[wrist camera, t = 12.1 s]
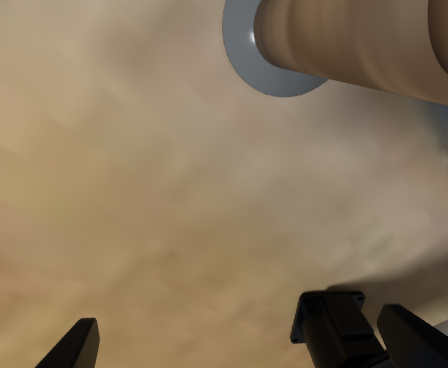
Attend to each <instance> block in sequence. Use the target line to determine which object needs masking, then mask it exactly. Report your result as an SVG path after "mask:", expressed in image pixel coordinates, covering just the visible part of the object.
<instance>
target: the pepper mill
mask: <svg viewBox="0 0 448 368" xmlns="http://www.w3.org/2000/svg"><path fill="white" fill-rule="evenodd" d="M253 34H254V40H255V44H256V46H257V49H258V51H259V53H260V54H261V55H262V57H263V58H264V59H265V60H266V61H267V62H268V63H270V64H271V65H273V66H275V67H278V68H281V69H286V70H290V71H295V72H299V73H304V74H308V75H313V76H318V77H322V78H327V79H331V80H336V81H340V82H345V83H349V84H354V85H358V86H363V87H367V88H372V89H376V90H381V91H385V92H390V93H394V94H399V95H404V96H408V97H413V98H417V99H422V100H426V101H431V102H435V103H440V104H444V105H448V0H261V1H260V3H259V5H258V7H257V10H256V13H255V17H254V23H253Z"/></svg>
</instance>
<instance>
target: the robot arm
mask: <svg viewBox="0 0 448 368" xmlns="http://www.w3.org/2000/svg"><path fill="white" fill-rule="evenodd" d="M365 298H366V297H365V295H364V294H363V292H337V293H312V294H303V295H301V296H300V298H299V302H298V306H297V310H296V314H295V318H294V322H293V326H292V331H291V335H290V340H291V342H292V343H293V344H298V343H306V346H307V348H308V351H309V353H310V356H311V358H312V361H313V363H314V366H315V368H448V336H446V335H445V334H443V333H442V332H440V331H439V330H437V329H436V328H434V327H433V326H431V325H430V324H428V323H427V322H425V321H424V320H422V319H421V318H419V317H418V316H416V315H415V314H413V313H412V312H410V311H409V310H407V309H406V308H404V307H403V306H401V305H400V304H397V303H387V304H384V305H383V307H382V309H381V312H380V314H379V317H378V319H377V327H378V330H379V333H380V335H381V337H382V340H383V342H384V344H385V346H386V349H387V350H384V348H383V347H382V345H381V344H380V342H379V340H378V339H377V337H376V336H375V334H374V330H373V328H372V327H371V325H370V324H369V322H368V321H367V319H366V318H365V316H364V315H363V313H362V312H361V309H362V306H363V303H364V301H365ZM99 342H100V336H99V330H98V325H97V320H96V318H81V319H80V320H78V321H77V322H76V323H75V325H74V326H73V327H72V328H71V329H70V330H69V331H68V332H67V333H66V334H65V335H64V336H63V338H62V339H61V340H60V341H59V342H58V343H57V344H56V345H55V346H54V347H53V348H52V349H51V350H50V352H49V353H48V354H47V355H46V356H45V357H44V358H43V359H42V360H41V361H40V362H39V363H38V365H37V366H36V367H35V368H95V363H96V358H97V353H98V348H99Z"/></svg>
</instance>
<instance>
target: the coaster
mask: <svg viewBox="0 0 448 368" xmlns="http://www.w3.org/2000/svg"><path fill="white" fill-rule="evenodd" d="M260 1H261V0H226V3H225V7H224V12H223V21H222V32H223V41H224V45H225V49H226V53H227V55H228V58H229V60H230V62H231V64H232V66H233V68H234V69H235V71H236V72H237V74H238V75H239V76H240V77H241V78H242V79H243V80H244V81H245V82H246V83H247V84H248V85H250V86H251V87H253V88H255V89H256V90H258V91H260V92H262V93H264V94H267V95H271V96H276V97H293V96H298V95H301V94H305V93H307V92H309V91H312V90H314V89H315V88H317V87H319V86H320V85H321V84H323V83H324V82H325V81H327V80H328V79H327V78H322V77H318V76H313V75H308V74H304V73H299V72H295V71H290V70H286V69H281V68H278V67H275V66H273V65H271V64H270V63H268V62H267V61H266V60H265V59H264V58H263V57H262V55H261V54H260V53H259V51H258V49H257V46H256V44H255V40H254V34H253V23H254V17H255V13H256V10H257V7H258V5H259V3H260Z"/></svg>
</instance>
